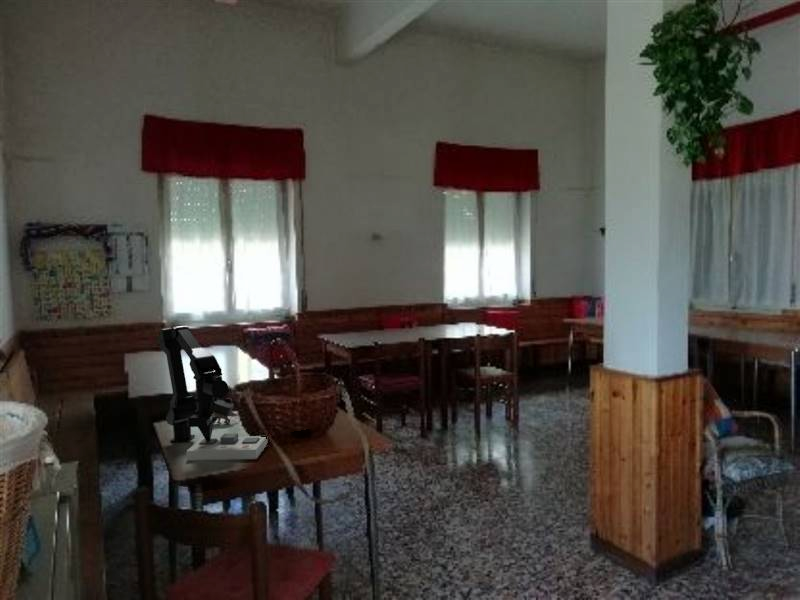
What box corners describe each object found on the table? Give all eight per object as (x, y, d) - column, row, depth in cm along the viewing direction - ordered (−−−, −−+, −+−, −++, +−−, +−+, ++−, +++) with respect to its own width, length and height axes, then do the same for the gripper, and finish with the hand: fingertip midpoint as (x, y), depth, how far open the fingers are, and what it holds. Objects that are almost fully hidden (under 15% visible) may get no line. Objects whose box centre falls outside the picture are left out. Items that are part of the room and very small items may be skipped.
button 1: (204, 446, 201) (204, 438, 200) (217, 445, 200) (217, 438, 200) (199, 450, 196) (199, 442, 196) (213, 450, 196) (212, 442, 196)
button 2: (246, 445, 200) (246, 437, 200) (259, 444, 200) (259, 437, 200) (242, 449, 196) (242, 441, 196) (256, 449, 196) (255, 441, 195)
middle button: (225, 441, 200) (224, 433, 200) (238, 440, 200) (237, 433, 200) (220, 445, 196) (220, 437, 196) (234, 444, 196) (233, 437, 196)
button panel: (202, 446, 204) (202, 436, 204) (267, 444, 203) (267, 434, 203) (186, 460, 190) (186, 449, 190) (256, 458, 189) (256, 448, 189)
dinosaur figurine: (199, 427, 228) (198, 402, 227) (203, 422, 233) (202, 399, 233) (237, 425, 229) (235, 400, 228) (239, 420, 234) (238, 397, 234)
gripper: (220, 400, 187) (223, 449, 189) (238, 386, 206) (241, 431, 207) (185, 400, 188) (188, 450, 189) (206, 387, 206) (208, 432, 208)
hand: (208, 440), depth 198 cm, fingers closed, pressing on button 1
